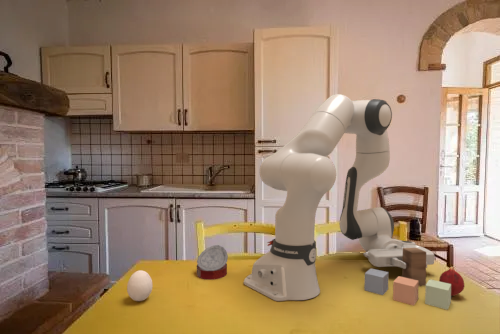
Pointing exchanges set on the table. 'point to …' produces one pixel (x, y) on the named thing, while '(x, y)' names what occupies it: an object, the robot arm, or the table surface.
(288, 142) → the robot arm
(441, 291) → the cube sage
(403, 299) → the cube terracotta
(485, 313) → the table surface
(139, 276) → the egg
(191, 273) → the table surface
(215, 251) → the canned food
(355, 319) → the table surface
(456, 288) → the pomegranate
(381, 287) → the cube slate
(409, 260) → the block walnut
